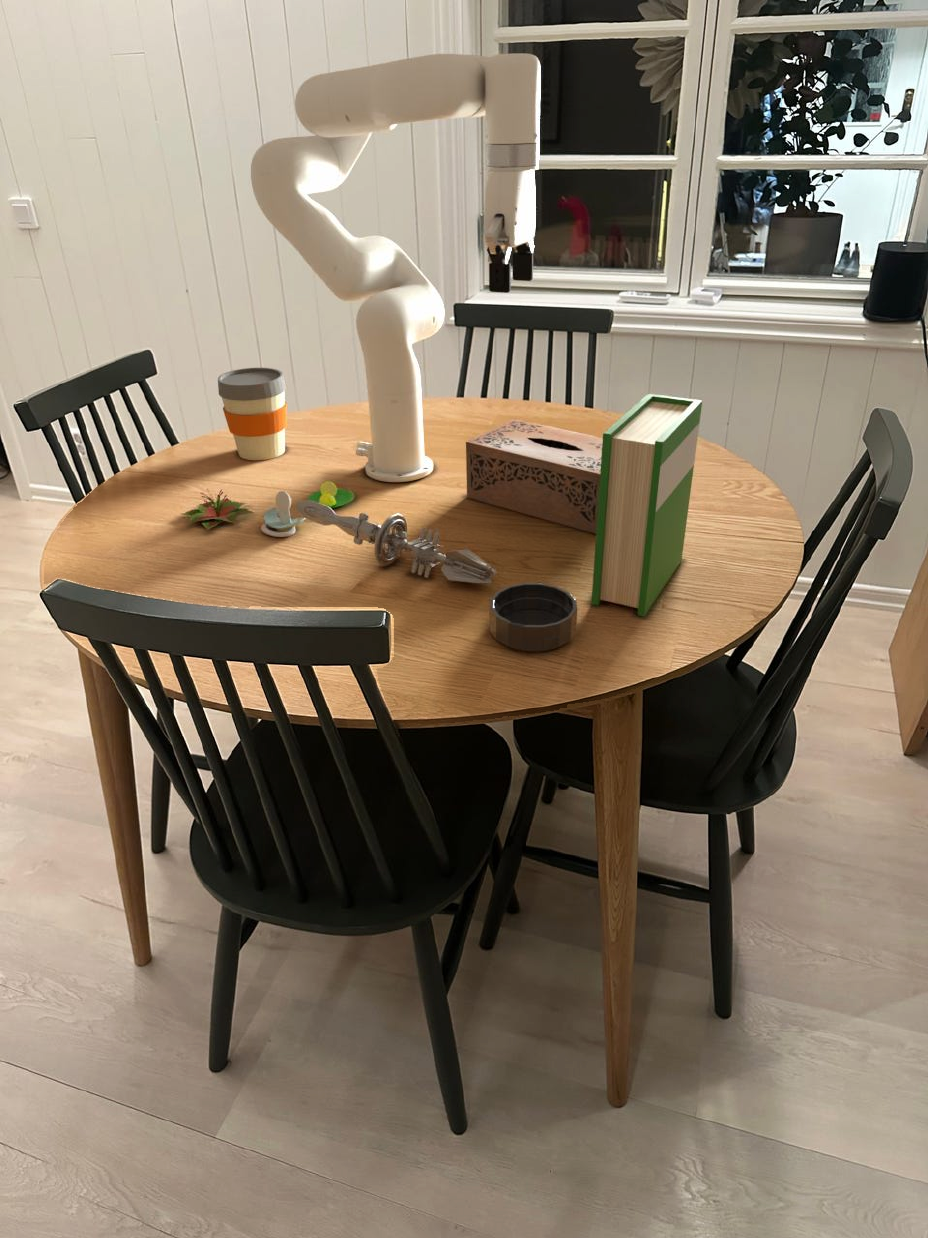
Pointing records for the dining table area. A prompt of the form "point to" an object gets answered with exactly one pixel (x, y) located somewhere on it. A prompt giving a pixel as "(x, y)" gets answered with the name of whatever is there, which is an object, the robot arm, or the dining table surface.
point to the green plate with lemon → (331, 495)
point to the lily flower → (216, 511)
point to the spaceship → (402, 544)
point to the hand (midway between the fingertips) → (511, 285)
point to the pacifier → (282, 523)
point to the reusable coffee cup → (255, 411)
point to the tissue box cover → (537, 472)
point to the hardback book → (644, 499)
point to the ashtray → (533, 617)
